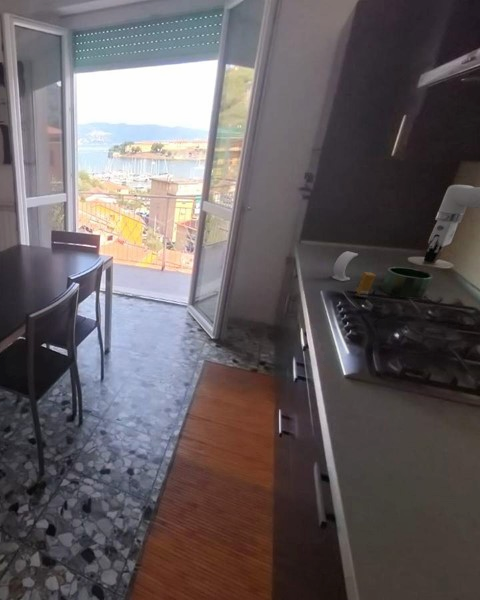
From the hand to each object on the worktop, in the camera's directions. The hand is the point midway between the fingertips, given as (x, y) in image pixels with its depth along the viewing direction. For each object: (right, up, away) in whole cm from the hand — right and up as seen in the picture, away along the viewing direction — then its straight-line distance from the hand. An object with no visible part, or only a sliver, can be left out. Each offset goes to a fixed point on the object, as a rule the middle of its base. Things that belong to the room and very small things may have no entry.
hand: (431, 259), depth 151 cm
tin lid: (0, -1, +1) cm, 1 cm away
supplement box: (-37, -16, -10) cm, 42 cm away
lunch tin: (-17, -14, -5) cm, 23 cm away
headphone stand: (-32, -8, +9) cm, 34 cm away
